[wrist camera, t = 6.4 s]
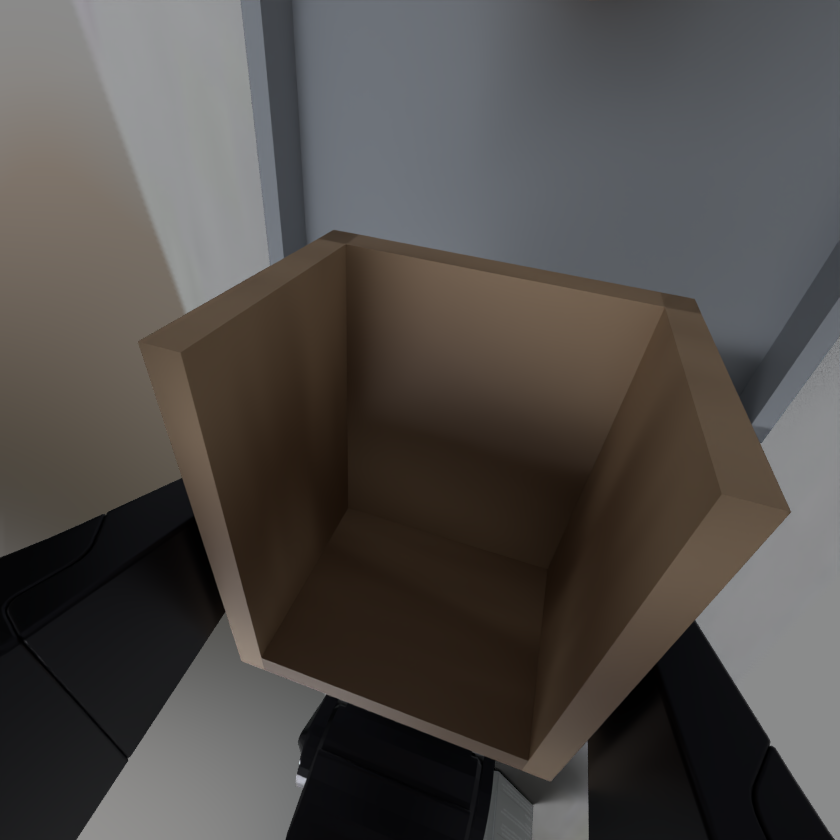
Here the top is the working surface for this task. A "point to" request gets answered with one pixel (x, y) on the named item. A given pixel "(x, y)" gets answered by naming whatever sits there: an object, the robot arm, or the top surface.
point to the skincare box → (508, 812)
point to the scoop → (460, 484)
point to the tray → (575, 150)
